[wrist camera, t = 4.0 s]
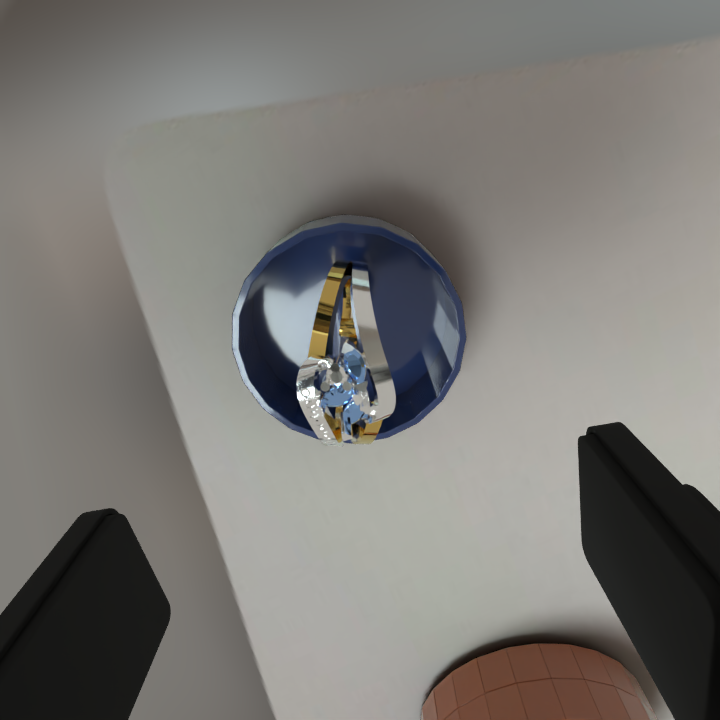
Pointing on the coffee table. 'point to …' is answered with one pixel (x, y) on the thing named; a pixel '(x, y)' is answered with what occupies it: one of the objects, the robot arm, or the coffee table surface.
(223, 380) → the coffee table surface
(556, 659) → the bowl
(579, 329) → the coffee table surface
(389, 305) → the blue round dish
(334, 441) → the ring
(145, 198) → the coffee table surface
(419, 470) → the coffee table surface
